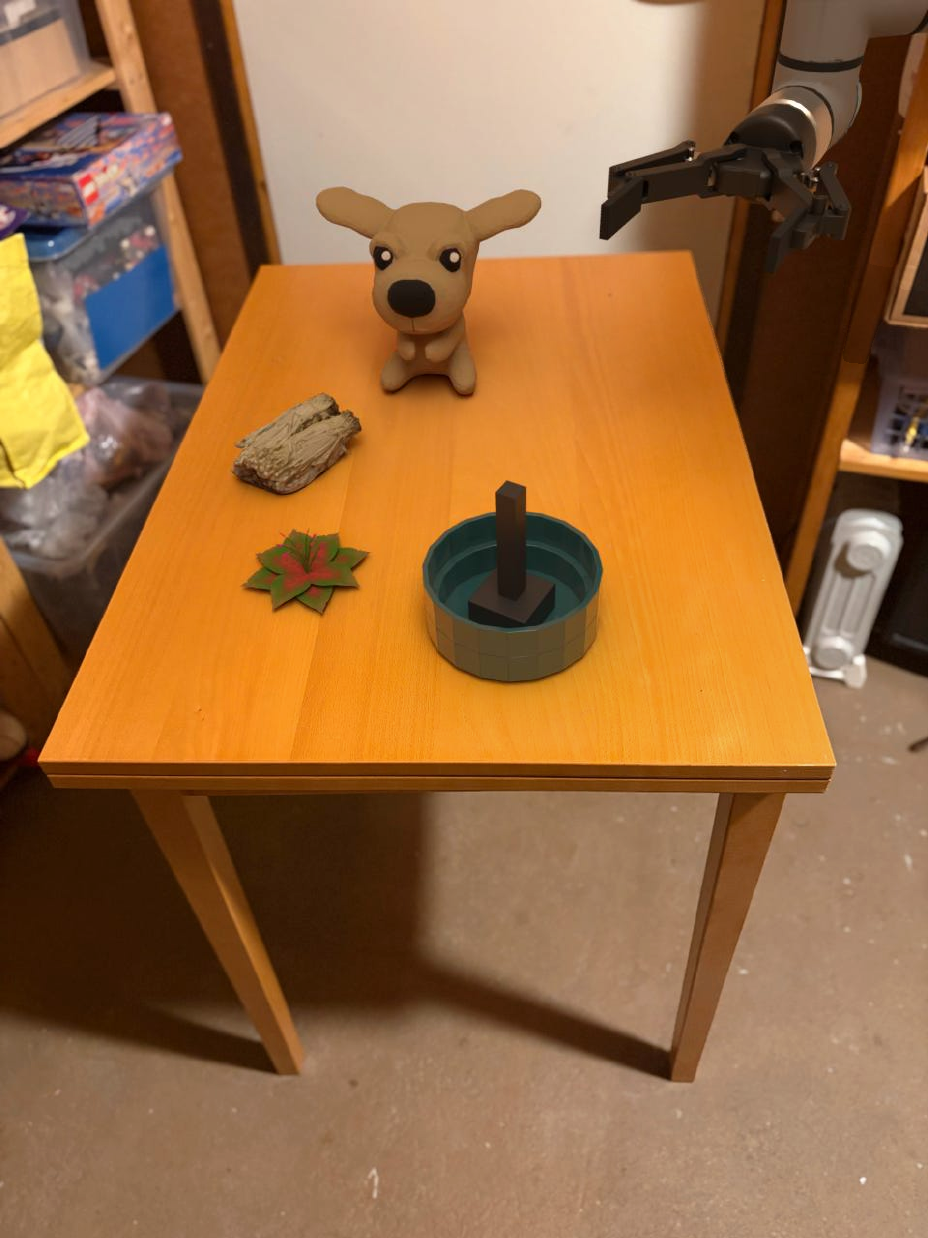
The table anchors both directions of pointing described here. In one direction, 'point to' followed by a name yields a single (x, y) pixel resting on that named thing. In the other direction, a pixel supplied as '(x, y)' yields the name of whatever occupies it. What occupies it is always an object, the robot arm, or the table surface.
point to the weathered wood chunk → (296, 445)
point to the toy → (426, 273)
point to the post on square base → (511, 571)
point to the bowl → (523, 650)
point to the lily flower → (305, 569)
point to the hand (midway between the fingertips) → (684, 238)
